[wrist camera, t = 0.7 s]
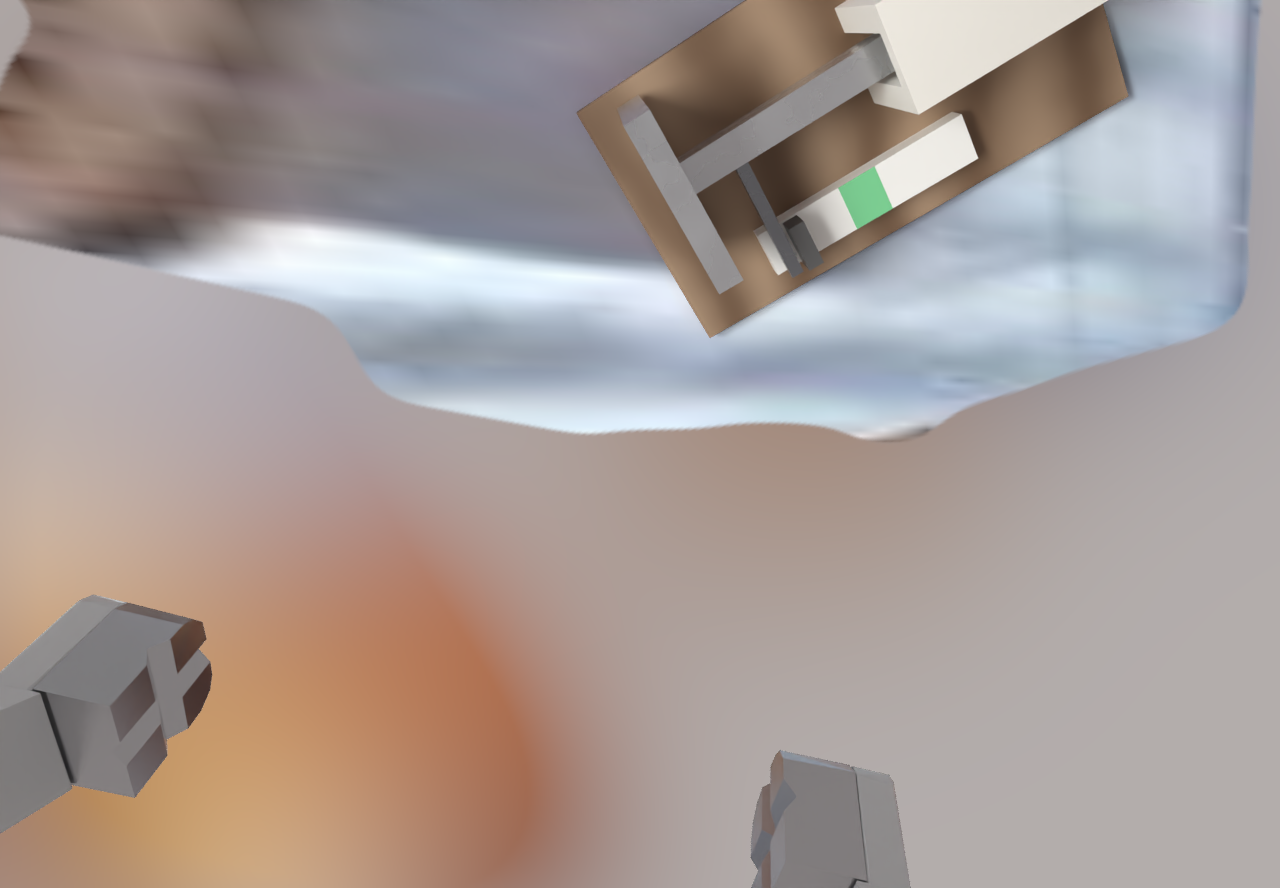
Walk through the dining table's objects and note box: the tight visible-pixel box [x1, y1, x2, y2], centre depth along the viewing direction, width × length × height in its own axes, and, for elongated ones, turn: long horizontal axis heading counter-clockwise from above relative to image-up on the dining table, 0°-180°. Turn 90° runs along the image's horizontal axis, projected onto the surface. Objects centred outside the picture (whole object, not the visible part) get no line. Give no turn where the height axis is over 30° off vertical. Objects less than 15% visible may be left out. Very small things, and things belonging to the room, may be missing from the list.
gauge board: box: [577, 0, 1128, 338], centre depth 50 cm, size 30×17×1 cm, turn 121°
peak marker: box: [783, 215, 824, 271], centre depth 50 cm, size 1×3×2 cm, turn 31°
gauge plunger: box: [617, 33, 895, 294], centre depth 45 cm, size 20×14×10 cm
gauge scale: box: [754, 112, 978, 275], centre depth 51 cm, size 14×3×2 cm, turn 121°
